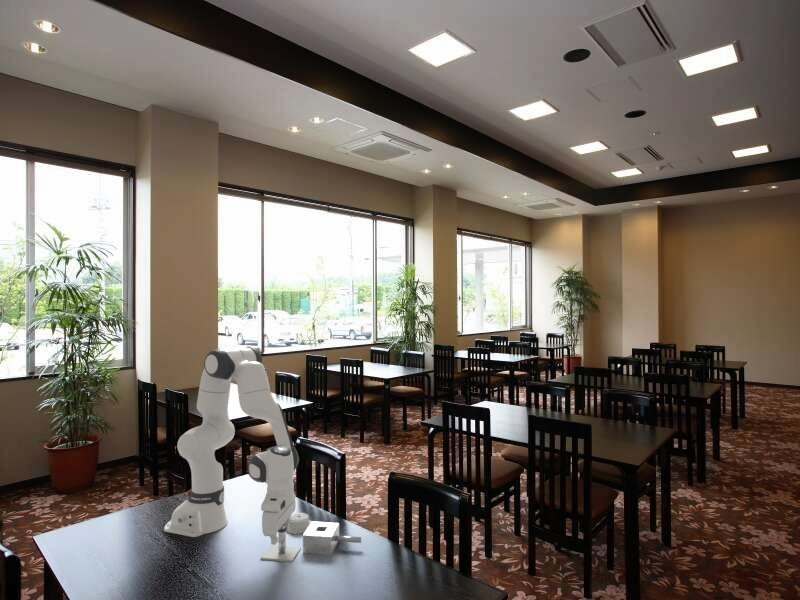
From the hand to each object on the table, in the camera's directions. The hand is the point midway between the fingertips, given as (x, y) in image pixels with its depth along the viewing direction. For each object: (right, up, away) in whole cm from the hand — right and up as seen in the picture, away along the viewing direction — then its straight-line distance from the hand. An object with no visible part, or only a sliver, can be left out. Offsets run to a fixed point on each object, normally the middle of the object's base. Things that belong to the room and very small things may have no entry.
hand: (280, 536), depth 160 cm
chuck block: (+18, -6, +5) cm, 19 cm away
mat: (0, -6, 0) cm, 6 cm away
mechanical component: (+2, -7, +19) cm, 20 cm away
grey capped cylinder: (+1, -5, 0) cm, 5 cm away
